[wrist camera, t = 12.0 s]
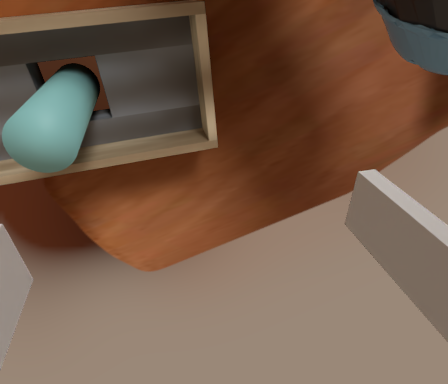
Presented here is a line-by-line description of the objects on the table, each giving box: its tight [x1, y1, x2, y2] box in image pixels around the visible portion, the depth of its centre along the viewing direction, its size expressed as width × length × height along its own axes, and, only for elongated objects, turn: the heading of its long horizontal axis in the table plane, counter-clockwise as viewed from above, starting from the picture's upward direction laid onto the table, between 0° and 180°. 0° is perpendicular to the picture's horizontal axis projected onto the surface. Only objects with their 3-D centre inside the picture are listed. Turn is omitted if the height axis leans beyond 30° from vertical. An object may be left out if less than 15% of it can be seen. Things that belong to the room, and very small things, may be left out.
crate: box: [0, 0, 218, 185], centre depth 27 cm, size 12×24×6 cm, turn 95°
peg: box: [2, 63, 100, 173], centre depth 24 cm, size 4×4×14 cm
